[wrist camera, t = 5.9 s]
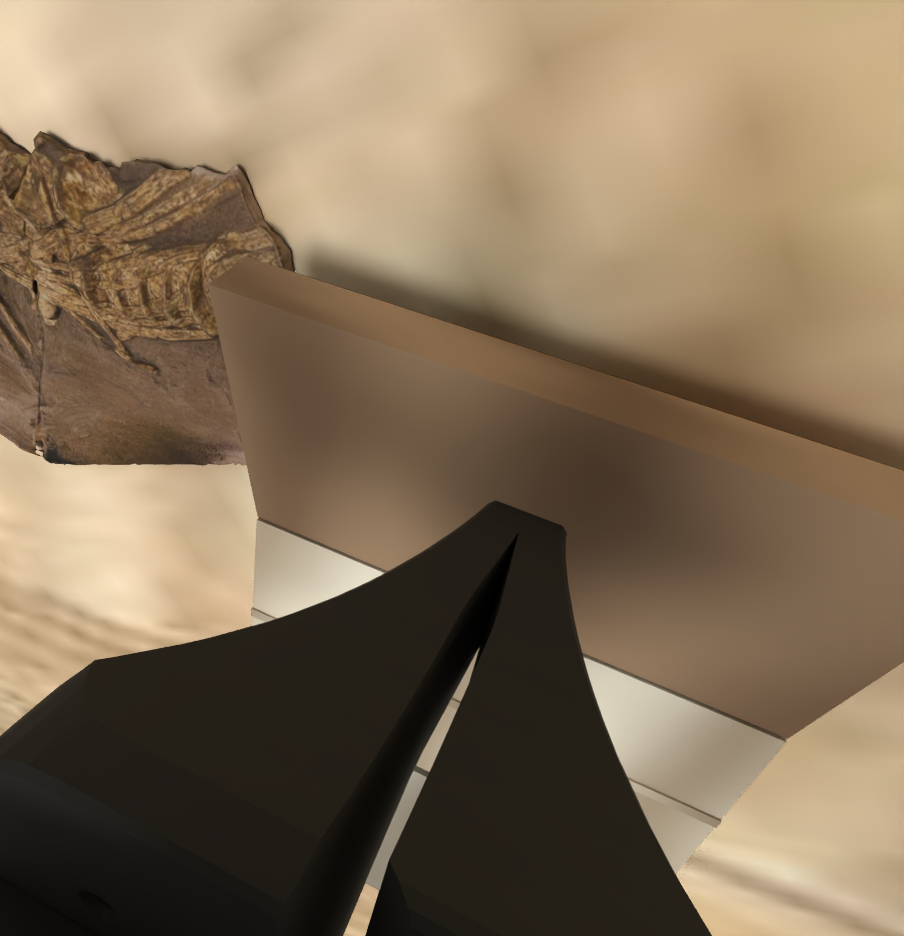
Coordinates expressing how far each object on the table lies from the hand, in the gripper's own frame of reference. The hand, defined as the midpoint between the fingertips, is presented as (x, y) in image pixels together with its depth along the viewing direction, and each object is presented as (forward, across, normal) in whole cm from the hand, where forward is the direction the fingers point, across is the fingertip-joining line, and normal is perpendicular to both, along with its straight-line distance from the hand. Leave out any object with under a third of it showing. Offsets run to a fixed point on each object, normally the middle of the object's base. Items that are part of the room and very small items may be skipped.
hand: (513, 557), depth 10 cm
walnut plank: (+3, 0, 0) cm, 3 cm away
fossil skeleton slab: (+4, +18, +1) cm, 19 cm away
